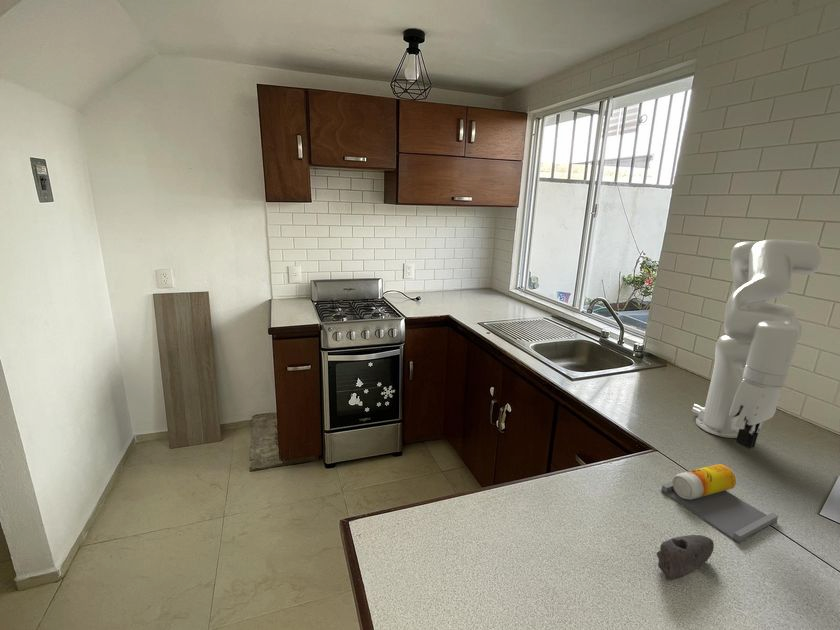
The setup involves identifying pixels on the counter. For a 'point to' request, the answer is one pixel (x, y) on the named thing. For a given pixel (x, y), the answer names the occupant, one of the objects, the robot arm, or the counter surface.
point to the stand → (725, 513)
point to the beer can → (704, 481)
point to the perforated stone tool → (684, 555)
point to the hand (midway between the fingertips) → (744, 444)
